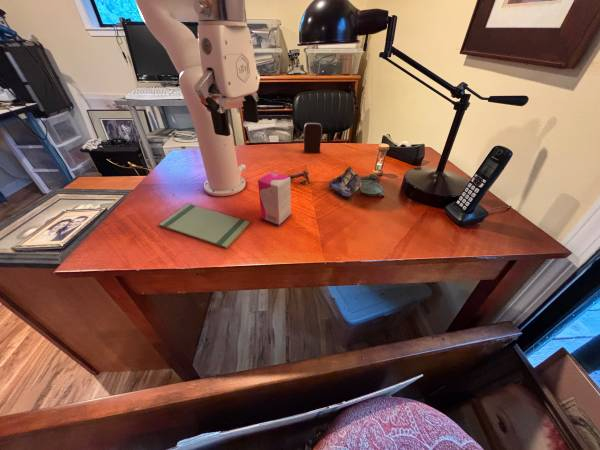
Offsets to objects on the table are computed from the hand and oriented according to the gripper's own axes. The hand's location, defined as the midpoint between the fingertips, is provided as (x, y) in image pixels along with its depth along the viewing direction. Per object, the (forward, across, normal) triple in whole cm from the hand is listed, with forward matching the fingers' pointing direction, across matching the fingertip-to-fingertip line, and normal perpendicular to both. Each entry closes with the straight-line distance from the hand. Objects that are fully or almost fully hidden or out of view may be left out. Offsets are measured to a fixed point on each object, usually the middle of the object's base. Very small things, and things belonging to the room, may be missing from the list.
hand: (238, 127), depth 48 cm
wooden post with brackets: (+23, +24, -3) cm, 33 cm away
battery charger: (+23, +50, +3) cm, 55 cm away
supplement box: (+23, +4, -5) cm, 24 cm away
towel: (+23, -7, +10) cm, 26 cm away
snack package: (+23, +26, -18) cm, 40 cm away
